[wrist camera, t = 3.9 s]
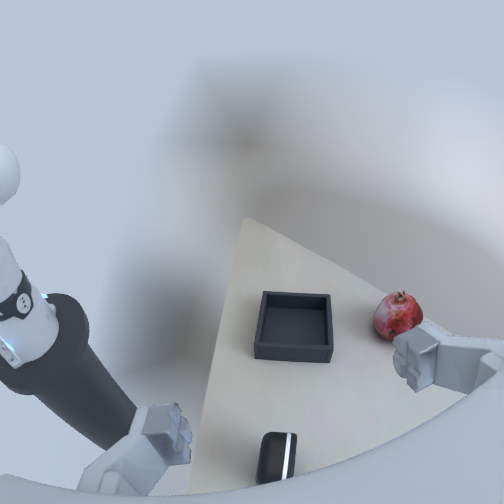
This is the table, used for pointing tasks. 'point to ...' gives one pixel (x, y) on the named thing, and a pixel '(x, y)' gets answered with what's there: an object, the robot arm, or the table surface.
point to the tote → (294, 327)
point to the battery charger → (276, 457)
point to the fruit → (397, 315)
